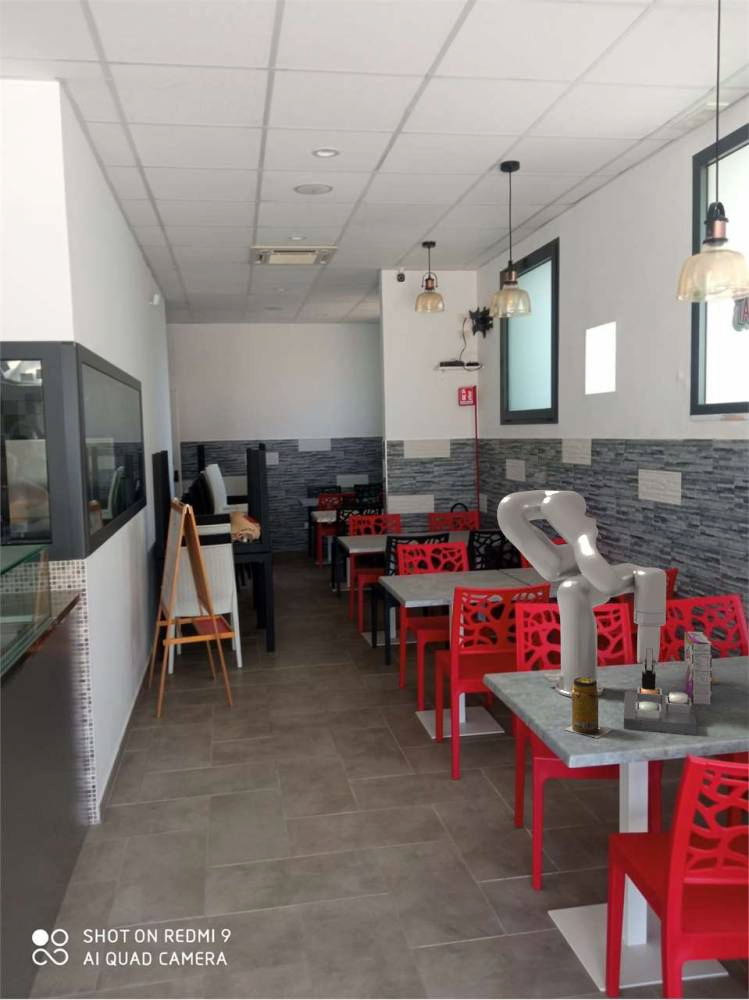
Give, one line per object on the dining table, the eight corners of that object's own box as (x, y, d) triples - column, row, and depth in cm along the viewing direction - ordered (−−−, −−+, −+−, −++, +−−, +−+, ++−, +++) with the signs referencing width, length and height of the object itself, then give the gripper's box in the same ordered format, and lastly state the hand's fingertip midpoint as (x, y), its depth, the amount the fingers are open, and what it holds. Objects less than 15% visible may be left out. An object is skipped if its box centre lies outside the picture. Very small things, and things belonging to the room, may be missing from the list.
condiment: (579, 721, 190) (579, 673, 189) (612, 730, 185) (612, 680, 184) (564, 730, 185) (564, 680, 184) (597, 739, 179) (597, 688, 178)
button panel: (623, 728, 185) (623, 710, 185) (625, 700, 204) (625, 683, 204) (696, 735, 180) (696, 716, 180) (690, 706, 199) (691, 688, 199)
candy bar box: (683, 690, 211) (683, 630, 210) (703, 691, 210) (703, 631, 209) (691, 704, 200) (692, 641, 199) (712, 705, 199) (712, 642, 198)
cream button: (669, 704, 189) (669, 696, 189) (668, 699, 193) (668, 691, 193) (688, 706, 188) (688, 698, 188) (687, 700, 192) (687, 692, 191)
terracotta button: (640, 698, 197) (640, 690, 197) (640, 693, 201) (640, 685, 201) (658, 700, 195) (658, 692, 195) (658, 694, 199) (658, 686, 199)
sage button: (639, 714, 186) (639, 706, 185) (638, 708, 190) (638, 700, 189) (657, 716, 184) (657, 708, 184) (657, 710, 188) (657, 702, 188)
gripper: (634, 609, 205) (633, 677, 206) (633, 623, 191) (632, 696, 192) (664, 611, 202) (663, 680, 204) (666, 625, 188) (665, 699, 190)
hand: (648, 687), depth 198 cm, fingers closed
